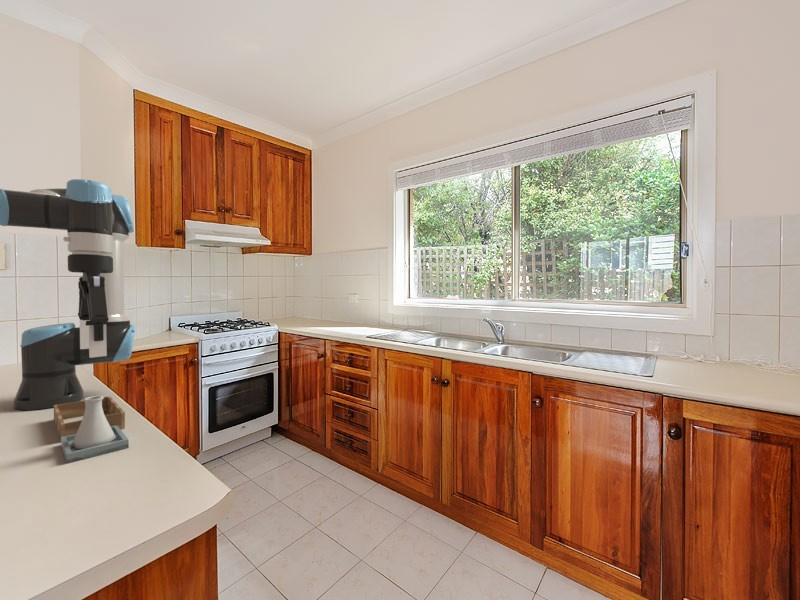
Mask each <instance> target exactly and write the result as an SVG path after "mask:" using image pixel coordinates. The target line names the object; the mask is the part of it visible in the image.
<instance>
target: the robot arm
mask: <svg viewBox="0 0 800 600" xmlns="http://www.w3.org/2000/svg"><path fill="white" fill-rule="evenodd" d="M0 226H2V227H21V228H22V227H23V228H37V229H49V230H50V229H51V230H58V231H59V230H61V231H67V236H64V237H63V241H64V242H68V243H67V251H68V252H69V253H71V254H68V255H67V271H68V272H70V273H79V274H81V273H82V276H80V277H79V278H78V282H77V284H78V290H79V291H78V294H79V295H78V296H79V298H78V313H77V316H78V319H79V327H76V324H75V323H74V322H67V323H64V322H63V323H56V324H49V325H44V326H43V325H42V326H37V327H32V328H28V329H26V330H24V331H22V334H21V342H20V348H21V349H20V350H21V377H22V378H21V381H20V382H21V383H20V384H19V386H18V389H17V392H16V395H15V397H14V399H13V408H14V409H15V410H21V411H32V410H33V411H34V410H35V411H36V410H44V409H51V408H54V405H59V404H65V403H72V402H78V401H82V400H83V399H84V389H83V387H82V385H81V382H80V380H79V378H78V375H77V374H76V366H82V365H83V366H84V365H94V364H103V363H104V364H105V363H107V364H108V363H111V364H113V363H115V362H125V361H127V360H129V359H130V358H131V357H132V352H133V347H134V346H133V345H134V338H135V332H136V325H134V324H131V319H130V318H129V317H128V316H126V315H125V287H124V283H125V282H124V281H125V279H124V277H125V275H124V242H125V241H126V240H127V239H129V237H130V234H131V233H134V230H135V229H134V223H133V217H132V210H131V205H130V201H129V199H128V198H127V197H126V196H123V195H117V194H113V193H112V189H111V186H109V185H108V184H106V183H104V182H100V181H96V180H91V179H80V178H75V179H74V178H73V179H70V180H68V181H67V182H66V187H65V188H42V189H41V188H37V189H33V190H30V191H21V190H19V191H18V190H9V189H3V188H0ZM129 233H130V234H129Z"/></svg>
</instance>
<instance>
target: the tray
mask: <svg viewBox="0 0 800 600" xmlns="http://www.w3.org/2000/svg"><path fill="white" fill-rule="evenodd" d="M111 429H112V431H113V432H114V434H115V436H116V439H114V440H112V441H111V442H109V443H107V444H103V445H98V446H94V447H90V448H85V449H76V448H74V447H73V446H71V445H72V442H73V440H74V438H75V436H76V434H73V435H69V436H64V437H61V439H60V447H61V451H62V453H63V456H64V459H65V462H66V464H70V463H73V462H77V461H81V460H86V459H90V458H93V457H94V458H95V457H97V456H102V455H105V454H110V453H113V452H116V451H121V450H124V449H129V438H128V437H127V435H126V434H125V433H124V432H123V431H122V429H120V428H119V427H118V426H117V425H116V426H111Z"/></svg>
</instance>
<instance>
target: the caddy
mask: <svg viewBox="0 0 800 600" xmlns="http://www.w3.org/2000/svg"><path fill="white" fill-rule="evenodd" d="M103 397H104V398H103V400H102V408H103V412H104V413H105V412H108V413H109V414H104V415H105V417H106V419H107V421H108V423H109V425H110V427H111V426H116V425H117V426H118V427H119V428H120V429H121V430H124V429H125V428H126V417H125V416H126V415H125V413H126V411H124V409H123V408H121V406H120V405H119V404H118V403H117V402H116V401H115V400H114V399H113V397H111V396H109V395H108V396H103ZM84 412H85V402H84V400H79V401H77V402H72V403H65V404H59V405H54V407H53V421H54V425H55V427H56V431H57V433H58V436H59V440H61V437H64V436H69V435H73V434H77V431H78V429H79V427H80V424H81V422H82V419H79V420H74V421H70V422H64V420H68V419H74V418H78V417H84Z"/></svg>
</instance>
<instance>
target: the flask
mask: <svg viewBox="0 0 800 600" xmlns="http://www.w3.org/2000/svg"><path fill="white" fill-rule="evenodd" d="M104 397H105V396H103V395H94V396H88V397H85V398H83V399H82V401H84V402H85V412H84V416H82V419H81V420H82V422H81V424H80V427H79V429H78V431H77V434H76V436H75V438H74V440H73V442H72V445H71V446H73V447H74V448H76V449H85V448H90V447H94V446H98V445H103V444H107V443H109V442H111V441H112V440H114V439H116V436H115V434H114V432H113V431H112V429H111V427H110V425H109V423H108V421H107V419H106V417H105V415H106V414H105V412H103V408H102V400H103V398H104Z"/></svg>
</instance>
